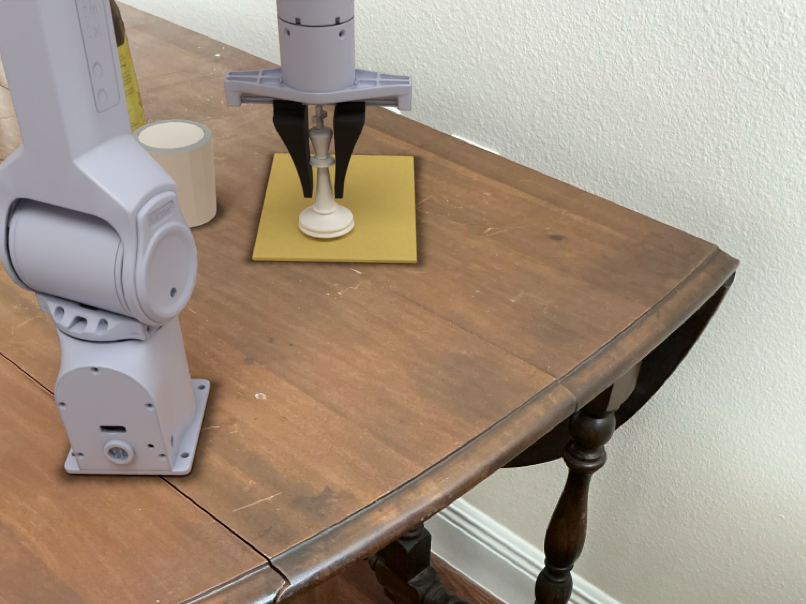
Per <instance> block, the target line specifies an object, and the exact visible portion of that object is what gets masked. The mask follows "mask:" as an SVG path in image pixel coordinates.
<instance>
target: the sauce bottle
mask: <svg viewBox="0 0 806 604" xmlns="http://www.w3.org/2000/svg"><path fill="white" fill-rule="evenodd" d="M109 3H110V9H111V14H112V20H113V26H114V32H115V38H116V44H117V50H118V55H119V61H120V67H121V73H122V79H123V85H124V91H125V97H126V102H127V108H128V114H129V120H130V126H131V132H132V133H133V132H134V131H135V130H136V129H138V128H139V127H141V126H143V125H146V124H148V123H147V119H146V115H145V110H144V109H145V108H144V105H143V101H142V97H141V92H140V87H139V83H138V78H137V74H136V70H135V65H134V61H133V58H132V53H131V50H130V49H131V48H130V45H129V38H128V35H127V31H126V27H125V23H124V20H123V19H122V18H123V17H122V13H121V11H120V7H119V6H118V4H117V2H116V1H115V0H109Z"/></svg>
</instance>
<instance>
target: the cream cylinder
mask: <svg viewBox="0 0 806 604" xmlns="http://www.w3.org/2000/svg"><path fill="white" fill-rule="evenodd" d="M132 135H133V137H134V138H135V140H136V141H137V142H138V143H139V144H140V145H141V146H142V147H143V149H144V150H145V151H146V152H147V153H148V154H149V155H150V156H151V157H152V158H153V159H154V160H155V161H156V162H157V163H158V164H159V165H160V166H161V167H162V168H163V169H164V170H165V171H166V172H167V173H168V174H169V176H170V177H171V178H172V179H173V180H174V181H175V183H176V185H177V192H178V199H179V204H180V208H181V212H182V215H183V217H184V219H185V221H186V223H187V224H188V226H189V228H195V227H199V226H202V225H204V224H206V223H209V222H210V221H211V220H212V219H214V218H215V217H216V214H217V210H218V209H217V208H218V207H217V195H216V194H217V192H216V191H217V190H216V174H215V155H214V154H215V153H214V135H213V132H212V130H211V128H210V127H209V126H207V125H206V124H203V123H201V122H200V121H196V120H191V119H185V118H184V119H181V118H178V119H177V118H169V119H162V120H155V121H152V122H149V123H147V124H146V125H143V126H141V127H139V128H138V129H136V130H135V131H134V132H133V133H132Z"/></svg>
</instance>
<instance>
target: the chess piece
mask: <svg viewBox="0 0 806 604" xmlns="http://www.w3.org/2000/svg"><path fill="white" fill-rule="evenodd" d="M314 110H315V112H314V113H315V114H314V115H313V116H311V124H314V125H315V126H312V127H310V128H309V131H308V135H309V141H310V142H311V145H312V148H313V150H314V154H315V155H313V156H312V157H311V158H310V164H311V165H312V166H314V167H317V188H316V201H315V203H314V204H313V205H312V206H310V207H308V208H306V209H304V210H303V211H302V212H301V213H300V215H299V224H298V225H299V228H300V230H301V231H302V232H304V233H305V234H307V235H309V236H312V237H317V238H333V237H338V236H342V235H344V234H346V233H348V232H349V231H351V230H352V228H353V227H354V220H353V214H352V212H351V211H350V210H349V209H347V208H346V207H344V206H341V205H338V204H337V203H336V202H335V201H334V197H333V191H332V186H331V181H330V174H329V168H328V167H330V166H332V165H334V164H335V159H334V157H333V156H332V155H330V154H329V151H330V147H331V142H332V139H333V137H334V131H333V128H331V127H329V126H326V125H324V122H325V121H324V119H326V118H327V117H328V110H325V109H324V105H314Z"/></svg>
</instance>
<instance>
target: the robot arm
mask: <svg viewBox="0 0 806 604" xmlns="http://www.w3.org/2000/svg"><path fill="white" fill-rule="evenodd" d="M275 2H276V3H275V4H276V5H275V6H276V19H277V20H276V21H277V31H278V44H279V57H280V58H279V59H280V67H271V68H261V69H252V70H251V69H250V70H237V71H236V70H235V71H234V70H227V71H226V73H225V76H224V79H223V85H224V93H225V101H226V106H227V107H235V108H236V107H237V108H239V107H241V106H242V104H249V105H251V104H253V105H254V104H255V105H272V109H273V110H272V118H271V119H272V123H273V126H274V129H275V131H276V133H277V134H278V136H279V138H280V140H282V142H283V144H284V146H285V147H286V150H287V151H288V152H287V153H289V154H290V156H291V158H292V160H293V162H294V165H295V167H296V170H297V173H298V176H299V179H300V182H301V185H302V190H303V195H304V198H312V194H313V170H312V165H311V164H310V158H311V154H312V153H311V148H310V147H311V145H310V138H309V135H308V131H309V130H310V128H309V127H310V126H309V125H310V124H309V122H310V121H309V106H316V105H323V106H334V109H333V117H332V131H333V142H334V145H333V146H334V154H335V183H334V193H335V199H342V198H343V193H344V181H345V176H346V172H347V168H348V165H349V161H350V158H351V155H353V152H354V150H355V147H356V145H357V143H358V140H359V139H360V137H361V135H362V132H363V129H364V126H365V123H366V109H367V108H366V107H377V108H382V107H384V108H397V110H398V111H403V112H404V111H405V112H406V111H407V112H411V111H412V105H413V103H412V102H413V101H412V99H413V98H412V97H413V76H412V75H405V74H393V73H385V72H381V71H374V70H367V69H361V68H356V30H355V29H356V27H355V26H356V23H355V21H356V20H355V0H275ZM0 60H1V64H2V67H3V71H4V75H5V79H6V83H7V86H8V91H9V94H10V97H11V102H12V106H13V110H14V114H15V118H16V121H17V125H18V130H19V133H20V137H21V141H22V142H21V143H20V144H19V146H17V147H16V148H15V149H14V150H13V151H12V152H11V153H10V154H9V155H8V156H6V158H4V159H3V161H2V162H1V163H0V262H1V265H2V267H3V269H4V271H5V273H6V274H7V276H8V277H9V279H10V280H11V281H12V282H13V283H14V284H15V285H17V286H18V287H20V288H21V289H23V290H25V291H27V292H31V293H34V294H35V297H36V300H37V303H38V306H39V308H40V311H41V312H43V313H46V314H47V315H49V316H50V317H51V319H52V322H53V325H54V328H55V331H56V334H57V337H58V341H59V347H60V367H59V370H58V374H57V376H56V377H57V378H56V381H55V384H54V390H53V397H54V404H55V406H56V409H57V412H58V414H59V417H60V420H61V422H62V425H63V428H64V430H65V433H66V436H67V438H68V441H69V445H70V449H69V451H68V454H67V457H66V459H65V462H64V465H63V466H64V470H65V472H66V473H68V474H70V475H72V474H73V475H74V474H75V475H137V476H138V475H146V476H148V475H149V476H155V475H156V476H186V475H188V474H189V473H191V471H192V467H193V463H194V459H195V455H196V451H197V447H198V442H199V437H200V433H201V429H202V425H203V419H204V416H205V411H206V407H207V403H208V398H209V394H210V389H211V382H210V380H209V379H207V378H192V377H191V373H190V368H189V363H188V359H187V353H186V349H185V343H184V339H183V334H182V330H181V325H180V324H181V323H180V318H179V314H180V313H181V312H182V311H183V310H184V308H185V307H186V306H187V304H188V303H189V301H190V299H191V297H192V295H193V292H194V290H195V286H196V282H197V277H198V268H199V267H198V266H199V261H198V257H199V256H198V249H197V246H196V245H197V244H196V242H195V239H194V235H193V233H192V230H191V227H189V226H188V224H187V223H186V221H185V219H184V217H183V215H182V212H181V208H180V204H179V199H178V192H177V185H176V183H175V181H174V180H173V179H172V178H171V177H170V176H169V174H168V173H167V172H166V171H165V170H164V169H163V168H162V167H161V166H160V165H159V164H158V163H157V162H156V161H155V160H154V159H153V158H152V157H151V156H150V155H149V154H148V153H147V152H146V151H145V150H144V149H143V147H142V146H141V145H140V144H139V143H138V142H137V141H136V140H135V138H134V137H133V135H132V132H131V126H130V120H129V114H128V108H127V102H126V97H125V91H124V85H123V79H122V73H121V67H120V61H119V55H118V50H117V44H116V38H115V32H114V26H113V20H112V14H111V9H110V3H109V0H0Z"/></svg>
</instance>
